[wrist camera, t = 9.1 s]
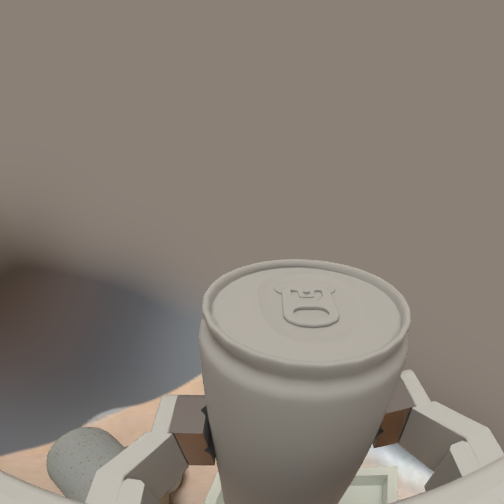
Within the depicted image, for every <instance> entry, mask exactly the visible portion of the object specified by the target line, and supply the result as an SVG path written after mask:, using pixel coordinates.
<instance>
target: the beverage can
mask: <svg viewBox="0 0 504 504" xmlns="http://www.w3.org/2000/svg"><path fill="white" fill-rule="evenodd" d="M202 315H203V319H202V321H201V323H200V332H199V351H200V360H201V368H202V377H203V384H204V391H205V398H206V405H207V412H208V417H209V423H210V429H211V434H212V440H213V445H214V451H215V455H216V461H217V466H218V471H219V477H220V482H221V488H222V493H223V498H224V504H338V503H339V501H340V500H341V498H342V497H343V495H344V494H345V492H346V490H347V489H348V487H349V486H350V484H351V482H352V481H353V479H354V477H355V476H356V474H357V472H358V470H359V468H360V466H361V465H362V463H363V461H364V459H365V457H366V455H367V453H368V451H369V449H370V447H371V445H372V443H373V441H374V439H375V437H376V434H377V432H378V430H379V428H380V426H381V423H382V421H383V419H384V416H385V414H386V412H387V409H388V407H389V405H390V402H391V400H392V397H393V395H394V392H395V390H396V387H397V384H398V382H399V379H400V376H401V373H402V370H403V368H404V365H405V362H406V359H407V355H408V335H407V332H408V330H409V328H410V324H411V319H410V308H409V306H408V304H407V302H406V300H405V298H404V296H403V295H402V294H401V293H400V292H399V291H398V290H396V289H395V288H394V287H393V286H392V285H391V284H389V283H387V282H386V281H384V280H383V279H381V278H379V277H378V276H375V275H373V274H370V273H368V272H366V271H363V270H361V269H357V268H354V267H350V266H346V265H342V264H338V263H331V262H326V261H319V260H318V261H317V260H302V259H292V260H275V261H267V262H260V263H255V264H251V265H248V266H244V267H240V268H238V269H236V270H233V271H231V272H229V273H226V274H224V275H223V276H221V277H220V278H219V279H217V280H216V281H215V282H213V283H212V284H211V286H210V287H209V289H208V290H207V291H206V293H205V295H204V297H203V306H202Z"/></svg>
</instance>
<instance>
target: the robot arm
mask: <svg viewBox="0 0 504 504" xmlns="http://www.w3.org/2000/svg"><path fill="white" fill-rule="evenodd" d="M395 443H398V444H399V445H400V446H402V447H403V448H404V449H405V450H407V451H408V452H409V453H411V454H412V455H413V456H414V457H416V458H417V459H418V460H419V461H421V462H422V463H423V464H425V465H426V466H427V467H429V468H430V469H431V470H433V471H434V473H433V474H432V476H431V477H430V479H429V480H428V481H427V483H426V485H425V486H424V487H425V490H426V492H423V493H421V494H418V495H415V496H412V497H409V498H406V499H403V500H399V501H396V502H393V503H389V504H504V453H503V452H502V450H501V448H500V446H499V445H498V443H497V441H496V440H495V438H494V436H493V435H492V433H491V431H490V430H489V428H487V427H485V426H483V425H481V424H479V423H477V422H475V421H473V420H471V419H469V418H467V417H465V416H463V415H461V414H459V413H457V412H455V411H453V410H451V409H449V408H447V407H445V406H443V405H441V404H440V403H438V402H436V401H433V402H431V401H430V399H429V398H428V396H427V394H426V392H425V391H424V389H423V387H422V386H421V384H420V382H419V381H418V379H417V377H416V376H415V374H414V372H413V371H412V370H406V371H402V373H401V376H400V379H399V382H398V384H397V387H396V390H395V392H394V395H393V397H392V400H391V402H390V405H389V407H388V409H387V412H386V414H385V416H384V419H383V421H382V423H381V426H380V428H379V430H378V432H377V434H376V437H375V439H374V441H373V443H372V444H373V446H374V448H377V447H382V446H386V445H390V444H395ZM215 458H216V455H215V451H214V445H213V440H212V434H211V429H210V423H209V417H208V412H207V405H206V398H205V395H166V394H164V395H163V397H162V398H161V401H160V404H159V407H158V410H157V414H156V417H155V420H154V424H153V427H152V431H151V432H146V433H145V434H143V435H142V436H141V437H140V438H139V439H137V440H136V441H135V442H134V443H132V444H131V445H130V446H128V447H127V448H126V449H125V450H123V451H122V452H121V453H120V454H118V455H117V456H116V457H114V458H113V459H112V460H111V461H109V462H108V463H107V464H105V465H104V466H103V467H101V468H100V469H99V470H97V471H96V474H95V477H94V479H93V482H92V485H91V488H90V490H89V493H88V496H87V499H86V502H85V503H83V502H80V501H77V500H73V499H70V498H67V497H64V496H61V495H58V494H56V493H53V492H50V491H47V490H45V489H42V488H40V487H37V486H35V485H32V484H30V483H28V482H25V481H23V480H21V479H18V478H16V477H14V476H12V475H10V474H8V473H6V472H4V471H2V470H0V504H160V502H159V500H160V499H161V498H162V496H163V495H164V494H165V493H166V492H167V491H168V490H169V489H170V488H171V486H172V485H173V484H174V483H175V482H176V481H177V480H178V478H179V477H180V476H181V475H182V474H183V473H184V472H185V470H186V469H187V468H188V467H189V466H188V465H215Z"/></svg>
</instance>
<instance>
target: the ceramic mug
mask: <svg viewBox="0 0 504 504" xmlns="http://www.w3.org/2000/svg"><path fill="white" fill-rule="evenodd" d="M127 447H128V446H127ZM127 447H123V446H122V445H121V444H120V443H119V442H118V441H117V440H116V439H115V438H114V437H113V436H112V435H111V434H109V433H108V432H106V431H104V430H102V429H100V428H95V427H84V428H78V429H75V430H72V431H70V432H68V433H67V434H64V435H63V436H62V437H60V438H59V439H58V440H57V441H56V442H55V443H54V445H53V446H52V447H51V449H50V451H49V453H48V456H47V471H48V474H49V476H50V478H51V480H52V481H53V482H54V483H55V485H56V486H57V487H58V488H59V489H60V490H61V492H62V493H63V494H64V495H65V496H66V497H67V498H70V499H73V500H77V501H80V502H83V503H85V502H86V499H87V496H88V493H89V490H90V488H91V485H92V482H93V479H94V477H95V474H96V471H97V470H99V469H100V468H101V467H103V466H104V465H105V464H107V463H108V462H109V461H111V460H112V459H113V458H114V457H116V456H117V455H118V454H120V453H121V452H122V451H123V450H125V449H126V448H127ZM182 475H183V474H182ZM182 475H181V476H180V477H179V478H178V480H177V481H176V482H175V483H174V484H173V485H172V486H171V488H170V489H169V490H168V491H167V492H166V493H165V494H164V495H163V496H162V498H161V499H160V500H159V502H160V504H169V498H170V497H169V493H171V492H173V491H175V490H176V488H177V487H178V486H179V485H180V483H181V481H182Z"/></svg>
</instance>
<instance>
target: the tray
mask: <svg viewBox="0 0 504 504" xmlns="http://www.w3.org/2000/svg"><path fill="white" fill-rule="evenodd" d="M396 501H398V474H397V466H392V467H361V468H359V470H358V472H357V474H356V476H355V477H354V479H353V481H352V482H351V484H350V486H349V487H348V489H347V490H346V492H345V494H344V495H343V497H342V498H341V500H340V501H339V503H338V504H389V503H393V502H396ZM204 504H224V498H223V493H222V488H221V482H220V477H219V471H218V473H217V475H216V477H215V480H214V482H213V484H212V487H211V489H210V491H209V493H208V496H207V498H206V500H205V502H204Z"/></svg>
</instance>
